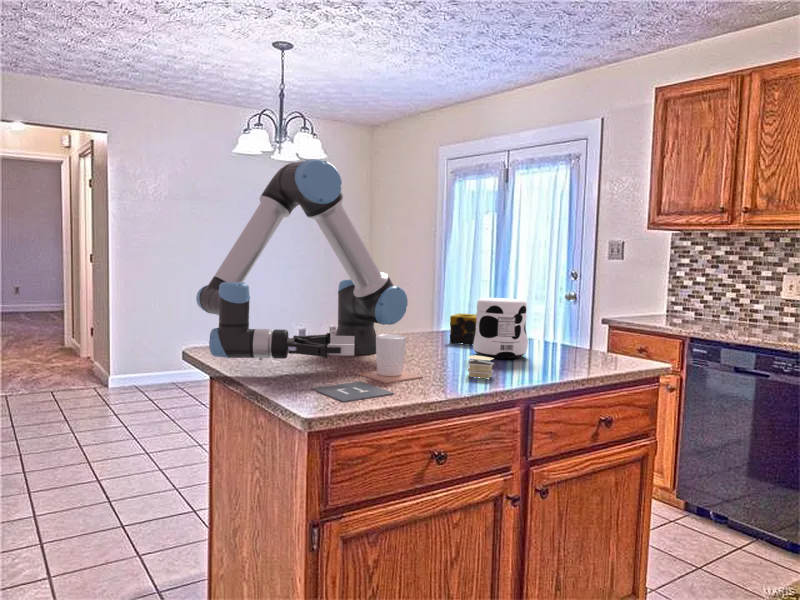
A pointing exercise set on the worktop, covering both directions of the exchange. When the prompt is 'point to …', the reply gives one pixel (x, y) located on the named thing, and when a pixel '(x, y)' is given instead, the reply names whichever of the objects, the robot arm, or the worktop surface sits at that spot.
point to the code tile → (352, 391)
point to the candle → (462, 328)
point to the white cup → (390, 354)
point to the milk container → (500, 328)
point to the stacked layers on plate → (480, 367)
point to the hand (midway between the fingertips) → (354, 345)
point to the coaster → (390, 379)
